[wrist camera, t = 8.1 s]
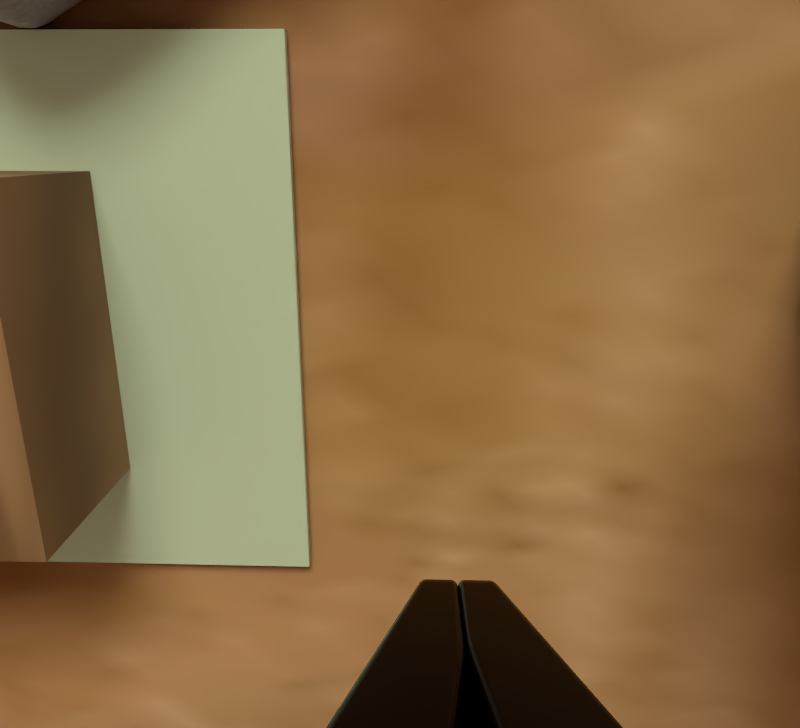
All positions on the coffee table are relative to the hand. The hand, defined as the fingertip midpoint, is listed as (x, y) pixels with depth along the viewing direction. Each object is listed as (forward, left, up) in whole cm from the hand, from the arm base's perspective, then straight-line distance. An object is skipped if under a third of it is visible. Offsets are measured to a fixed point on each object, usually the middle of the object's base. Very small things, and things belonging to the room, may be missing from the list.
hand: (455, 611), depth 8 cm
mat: (+13, 0, -12) cm, 18 cm away
